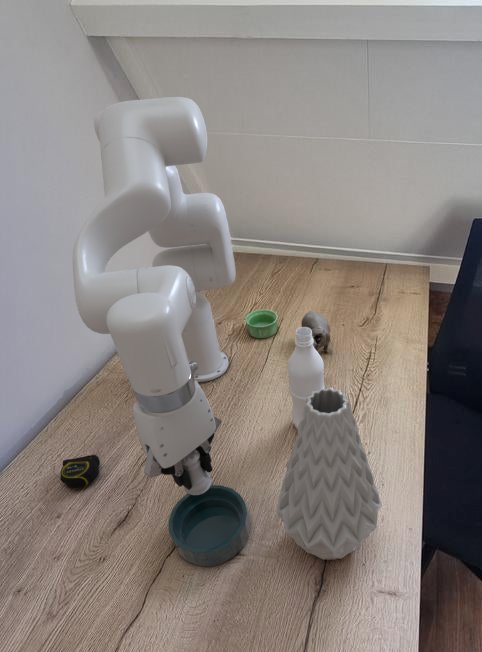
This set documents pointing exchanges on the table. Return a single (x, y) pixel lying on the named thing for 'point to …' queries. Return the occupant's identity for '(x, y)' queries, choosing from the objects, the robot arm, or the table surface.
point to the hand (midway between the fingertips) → (194, 475)
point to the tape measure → (80, 471)
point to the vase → (328, 480)
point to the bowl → (210, 526)
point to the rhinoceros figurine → (317, 329)
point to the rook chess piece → (196, 474)
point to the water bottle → (304, 372)
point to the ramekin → (262, 323)
